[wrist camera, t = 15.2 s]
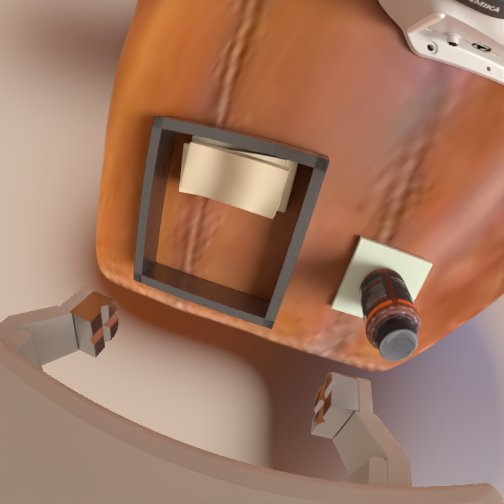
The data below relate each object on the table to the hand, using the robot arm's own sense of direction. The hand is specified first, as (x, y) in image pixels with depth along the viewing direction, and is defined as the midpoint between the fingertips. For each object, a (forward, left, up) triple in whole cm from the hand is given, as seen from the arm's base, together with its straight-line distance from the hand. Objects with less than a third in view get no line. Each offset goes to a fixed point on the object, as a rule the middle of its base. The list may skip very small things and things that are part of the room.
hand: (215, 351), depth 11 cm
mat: (-14, +7, -27) cm, 32 cm away
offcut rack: (+7, +5, -27) cm, 28 cm away
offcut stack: (+6, -1, -27) cm, 28 cm away
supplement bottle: (-14, +8, -27) cm, 31 cm away
